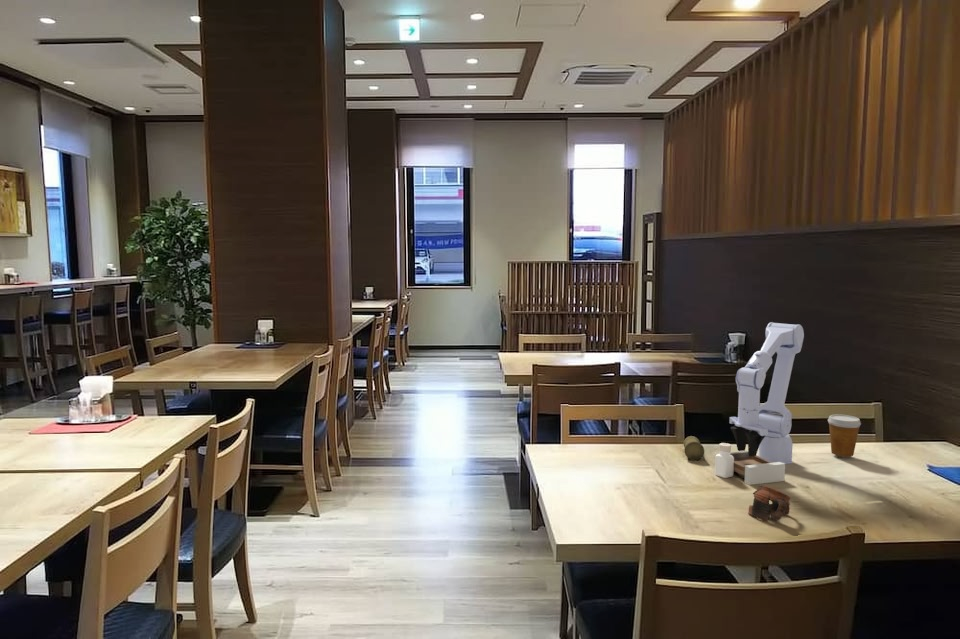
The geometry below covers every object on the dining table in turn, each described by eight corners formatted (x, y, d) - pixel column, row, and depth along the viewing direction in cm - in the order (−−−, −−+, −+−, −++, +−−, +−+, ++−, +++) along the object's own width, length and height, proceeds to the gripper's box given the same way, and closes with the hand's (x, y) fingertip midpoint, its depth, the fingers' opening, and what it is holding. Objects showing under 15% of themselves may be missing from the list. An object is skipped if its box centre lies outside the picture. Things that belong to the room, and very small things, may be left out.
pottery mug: (738, 510, 168) (749, 480, 169) (770, 526, 169) (781, 496, 170) (764, 519, 156) (776, 487, 157) (798, 536, 157) (810, 503, 158)
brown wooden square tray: (749, 464, 203) (750, 450, 202) (774, 476, 192) (775, 461, 192) (718, 468, 200) (719, 453, 199) (742, 480, 189) (743, 465, 189)
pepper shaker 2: (724, 479, 191) (726, 447, 190) (713, 475, 194) (714, 443, 193) (734, 476, 193) (735, 445, 192) (723, 472, 196) (724, 441, 195)
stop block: (779, 478, 191) (780, 461, 191) (784, 480, 189) (785, 463, 189) (744, 482, 188) (745, 465, 187) (749, 484, 186) (749, 467, 185)
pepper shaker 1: (685, 461, 208) (683, 452, 219) (705, 459, 207) (702, 450, 217) (683, 442, 208) (680, 434, 219) (703, 440, 207) (699, 432, 217)
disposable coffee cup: (865, 458, 209) (867, 421, 208) (835, 458, 209) (837, 421, 208) (849, 449, 219) (851, 414, 217) (820, 449, 219) (822, 414, 218)
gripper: (721, 403, 200) (719, 447, 201) (753, 415, 186) (751, 461, 188) (741, 402, 202) (739, 445, 203) (774, 413, 188) (772, 459, 190)
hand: (746, 453), depth 196 cm, fingers open, 4 cm apart
